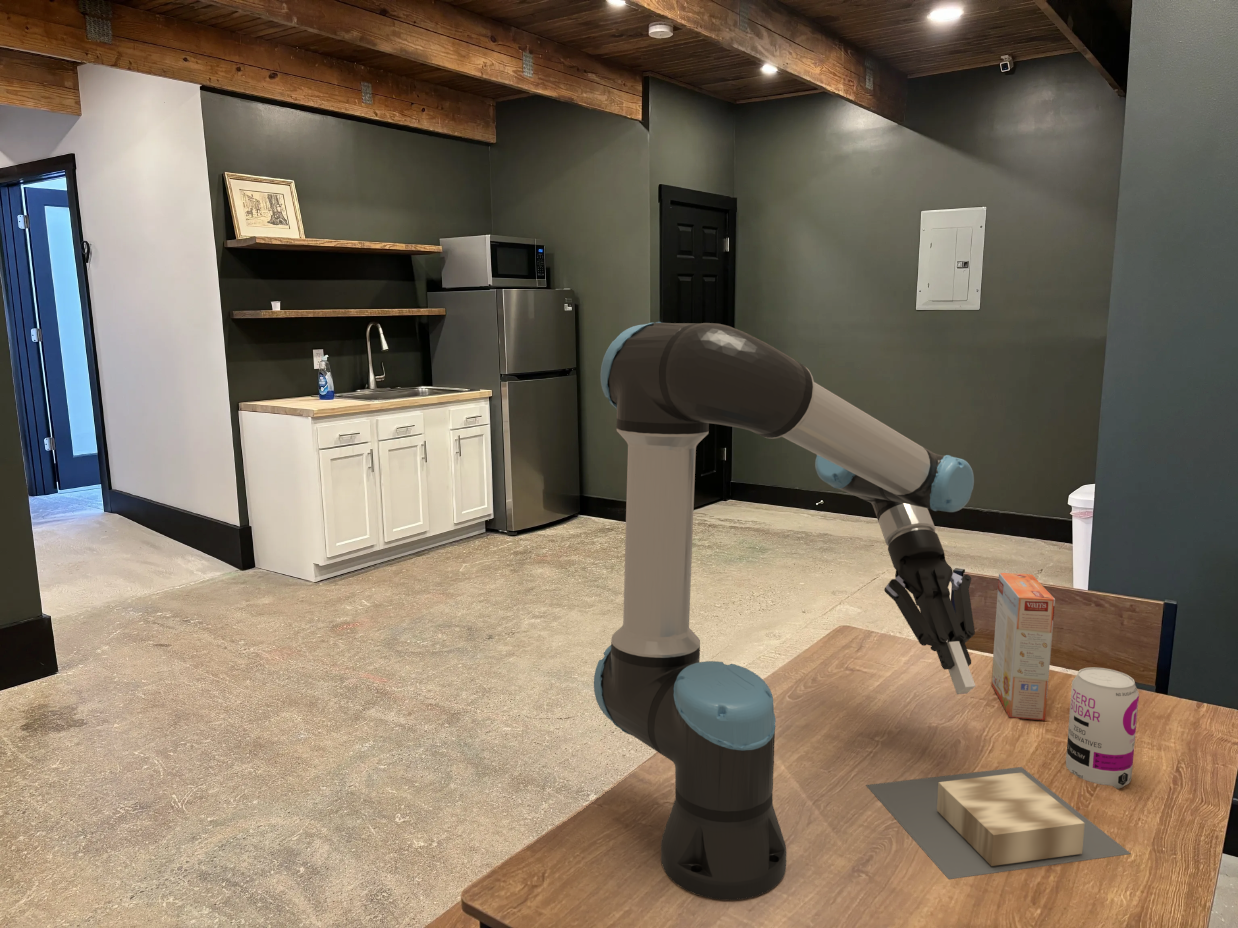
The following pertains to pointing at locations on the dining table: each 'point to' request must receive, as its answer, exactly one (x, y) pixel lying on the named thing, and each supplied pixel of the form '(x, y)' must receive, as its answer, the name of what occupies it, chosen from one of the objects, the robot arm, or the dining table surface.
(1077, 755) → the supplement can
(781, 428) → the robot arm
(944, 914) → the dining table surface
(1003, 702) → the cracker box
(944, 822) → the mat
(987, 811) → the wooden block
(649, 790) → the dining table surface
